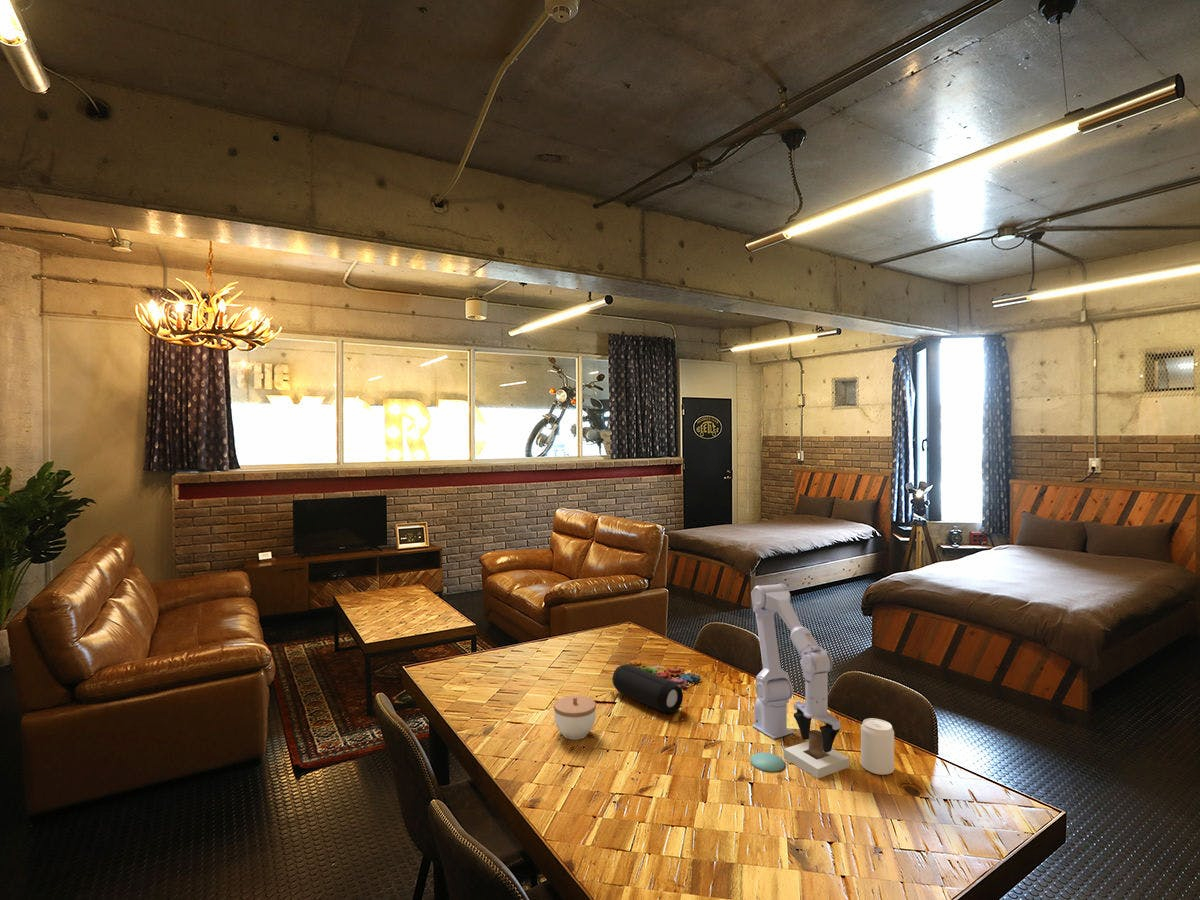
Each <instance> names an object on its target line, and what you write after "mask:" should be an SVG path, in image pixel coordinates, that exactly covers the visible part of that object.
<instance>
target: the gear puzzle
mask: <svg viewBox="0 0 1200 900" xmlns="http://www.w3.org/2000/svg"><path fill="white" fill-rule="evenodd" d="M626 664H629V665H632V666H635V667H637V668H640V669H642V670H645V671H647V672H650V673H652V674H655V675H657V676H660V677H662V678H665V679H667V680H670V681H672V682H675V683H676V684H677V685H678V686H679V687H680V688H681V690H682V688H683V689H687V688H686V686H689V684H694V683H693V682H695V683H699V682H698V681H700V680H701V679H702V678H701V677H700V676H701V675H697V674H696V673H695V672H693V671H692V672H691V673H690V672H687V673H685V670H684V669H681V668H680V667H678V666H669V668H668V669H667V670H664V673H663V672H662V671H663V670H662V669H661V668H662V667H663V668H664V666H665V665H664V666H663V665H661V666H659V664H657V666H656V665H654V666H653V665H650V666H649V667H651V668H648V667H647V666H646V664H645V663H644V662H642V661H641V660H639V659H632V660H630V661H627V662H625V664H624V665H626ZM656 668H658V669H657V670H656ZM659 668H660V669H661V670H662V671H659V672H658V673H657V671H658V670H659ZM664 669H666V668H664ZM672 677H673V679H672ZM677 677H679V678H677ZM688 682H689V684H688Z"/></svg>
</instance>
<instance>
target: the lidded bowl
mask: <svg viewBox="0 0 1200 900" xmlns="http://www.w3.org/2000/svg"><path fill="white" fill-rule="evenodd" d="M596 708H597V704H596V701H595V700H594V699H593V698H591V697H588V696H584V695H567V696H562V697H560V698H558V699H557V700H556V701H555V702H554V703H553V710H554V711H553V712H554V721H555V726H556V727H557V729H558V731H559V732H560V733H561V734H562V736H563V738H565V739H567V740H568V739H569V740H573V741H575V740H581V739H584V738H585V737H587V734H589V732H591V730H592V728H593V727H594V724H595V720H596Z"/></svg>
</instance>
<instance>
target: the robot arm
mask: <svg viewBox="0 0 1200 900" xmlns="http://www.w3.org/2000/svg"><path fill="white" fill-rule="evenodd" d="M750 596H751V597H750V598H751V604H752V611H753V613H755V620H756V626H757V634H758V641H759V647H760V654H761V662H762V670H761V671H760V672H759V673H758V674H757V675H756V676H755V680H756V685H755V693H756V696H757V698H756V700H755V702H754V706H753V707H754V709H753V711H754V719H753V720H754V724H752V725H751V726H752V727H753V728H754V729H756V730H758V731H760V732H761V733H763V734H765V735H766V736H768V737H770V738H771V739H773V740H776V739H778V738H782V737H785V736H788V735H791V734H794V731H793V730H791V729H790V728H788V727H787V726H788V723H787V722H788V721H787V720H788V719H787V718H788V717H787V715H788V714H787V713H788V710H787V709H788V705H787V704H790V700H791V699H792V697H793V695H794V687H793V685H792V683H791V682H792V681H791V680H790V675H789V673H787V672H786V671H785V670H784V669H782V666H781V661H780V653H779V645H778V639H777V633H776V631H777V630H776V625H775V620H774V619H775V618H774V615H775V614H776V613H777V614H778V615H779V617H780V618H781V620H782V621H783V622H784V624H785V625H786V627H787V628H788V630H789V631H790V635H789V636H790V637H789V639H790V641H791V643H792V644H793V646H794V648H795V649H796V652H798V654H799V656H800V658H801V659H800V666H801V669H802V672H803V673H802V675H803V678H804V680H805V683H804V685H805V688H804V689H805V690H804V692H805V694H804V696H805V699H804V700H805V701H804V702H805V703H804V702H801V701H800V700H799V701H795V702H793V710H794V711H796V712H794V713H793V717H794V719H795V721H796V724H797V726H798V728H799V731H800V737H801V739H802V741H808V740H809V731H811V722H812V719H813V720H817V721H819V722H821V723H823V724H825V725H822V726H819V729H820V730H819V731H820V732H821V733H822V738H823V750H824V752H826V753H827V752H830V751H831V749H833V746H834V742H835V740H836V737H837V735H838V733H839V732H840V730H841V720H839V719H837V718H836V717H835V716H833V715H832V714H831V713H830V712H829V711H828V673H829V672H831V671H832V669H833V659H832V657H831V655H830V652H829V651H828V650H825V649H824V648H823V647H821V646H819V644H818V643H817V641H816V638H814V636H813V635H812V633H811V631H810V629H809V628H807V627H806V626H802V624H801V622H800V620H799V618H798V616H797V614H796V611H795V610H794V608H793V606H792V604H791V593H790V592H789V589H788V587H787V586H786V585H785V584H784V583H777V584H767V585H755V586H754V587H753V589H752V590H751V592H750Z"/></svg>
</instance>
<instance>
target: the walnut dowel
mask: <svg viewBox="0 0 1200 900" xmlns="http://www.w3.org/2000/svg"><path fill="white" fill-rule="evenodd" d="M808 741H809V755H810V756H811V757H813V758H815V759H816V760H817V759H820V758H823V757H824V750H823V738H822V733H821V730H816V729H812V730H811V729H810V731H809V739H808Z"/></svg>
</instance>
